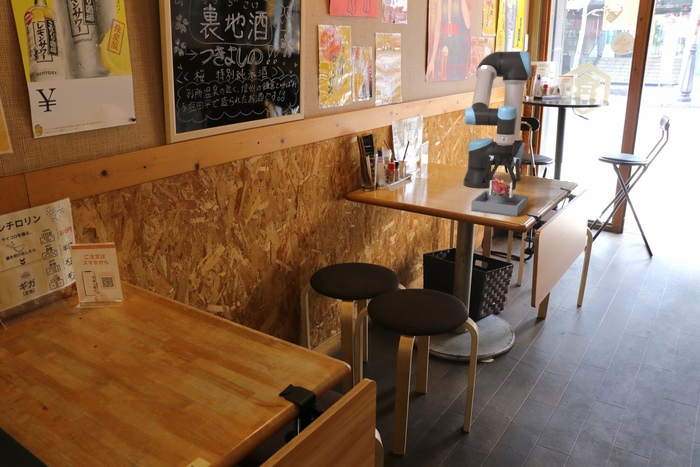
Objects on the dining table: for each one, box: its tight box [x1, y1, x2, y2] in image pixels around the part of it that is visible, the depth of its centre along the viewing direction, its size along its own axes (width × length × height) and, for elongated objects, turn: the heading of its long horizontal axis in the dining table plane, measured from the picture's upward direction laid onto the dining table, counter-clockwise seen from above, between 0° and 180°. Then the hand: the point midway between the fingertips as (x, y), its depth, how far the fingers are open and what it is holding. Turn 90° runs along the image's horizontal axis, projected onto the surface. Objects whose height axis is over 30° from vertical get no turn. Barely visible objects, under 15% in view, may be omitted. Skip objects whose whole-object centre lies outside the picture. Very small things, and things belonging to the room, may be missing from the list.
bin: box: [470, 190, 529, 218], centre depth 251 cm, size 20×20×4 cm
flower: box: [491, 177, 510, 197], centre depth 249 cm, size 10×9×8 cm
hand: (500, 195), depth 250 cm, fingers closed on flower, 8 cm apart
